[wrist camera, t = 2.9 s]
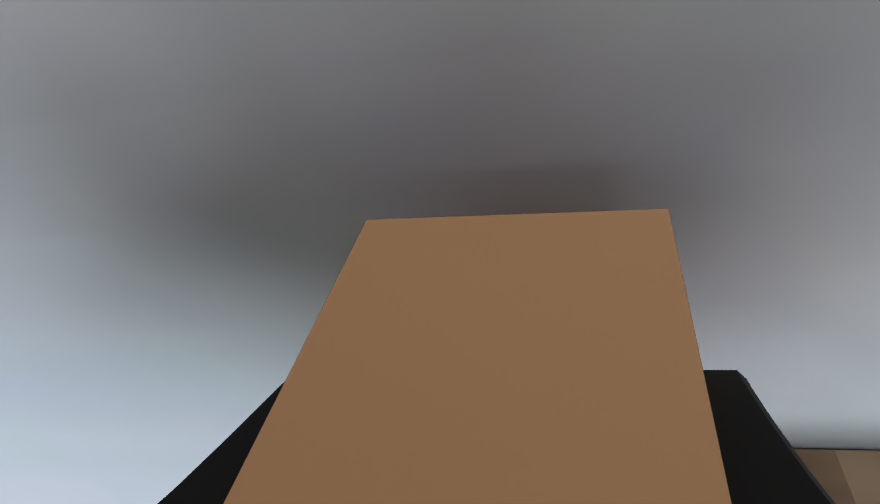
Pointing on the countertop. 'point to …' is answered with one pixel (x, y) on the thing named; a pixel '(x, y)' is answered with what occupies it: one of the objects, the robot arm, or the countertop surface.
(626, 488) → the peg
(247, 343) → the countertop surface
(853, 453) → the socket block
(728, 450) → the robot arm
